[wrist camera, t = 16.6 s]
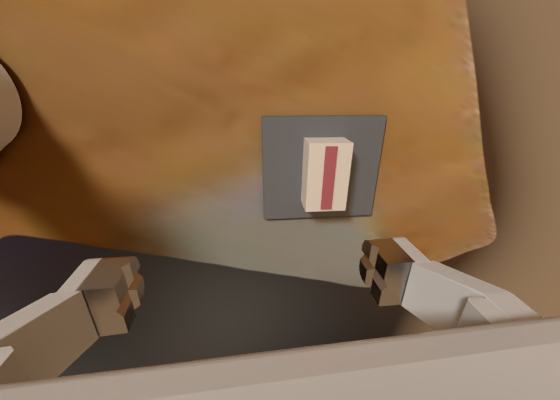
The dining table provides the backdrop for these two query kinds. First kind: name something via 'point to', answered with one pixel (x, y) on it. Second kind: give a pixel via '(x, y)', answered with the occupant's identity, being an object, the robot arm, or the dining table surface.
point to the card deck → (326, 173)
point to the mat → (289, 161)
